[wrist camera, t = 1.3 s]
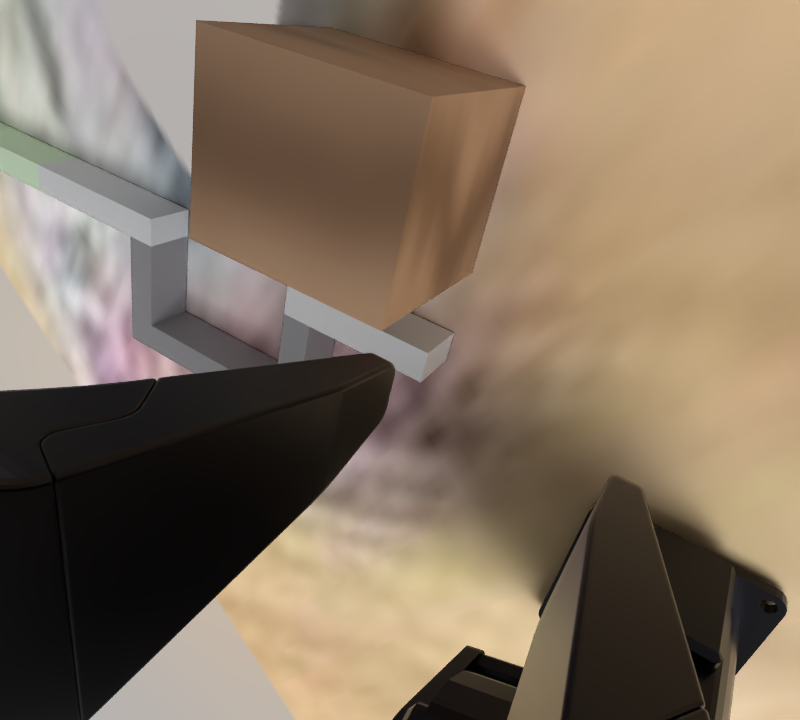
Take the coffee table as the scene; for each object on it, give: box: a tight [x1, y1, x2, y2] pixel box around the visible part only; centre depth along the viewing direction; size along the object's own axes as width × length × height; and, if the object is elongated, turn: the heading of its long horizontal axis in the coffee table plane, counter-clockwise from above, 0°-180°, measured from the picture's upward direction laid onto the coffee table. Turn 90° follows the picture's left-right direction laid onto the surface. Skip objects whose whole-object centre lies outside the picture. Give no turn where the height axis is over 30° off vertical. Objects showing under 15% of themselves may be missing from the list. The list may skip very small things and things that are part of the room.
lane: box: [37, 159, 454, 383], centre depth 23 cm, size 13×20×2 cm, turn 76°
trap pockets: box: [131, 236, 335, 374], centre depth 23 cm, size 23×14×2 cm, turn 166°
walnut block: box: [189, 20, 526, 331], centre depth 19 cm, size 6×7×6 cm
